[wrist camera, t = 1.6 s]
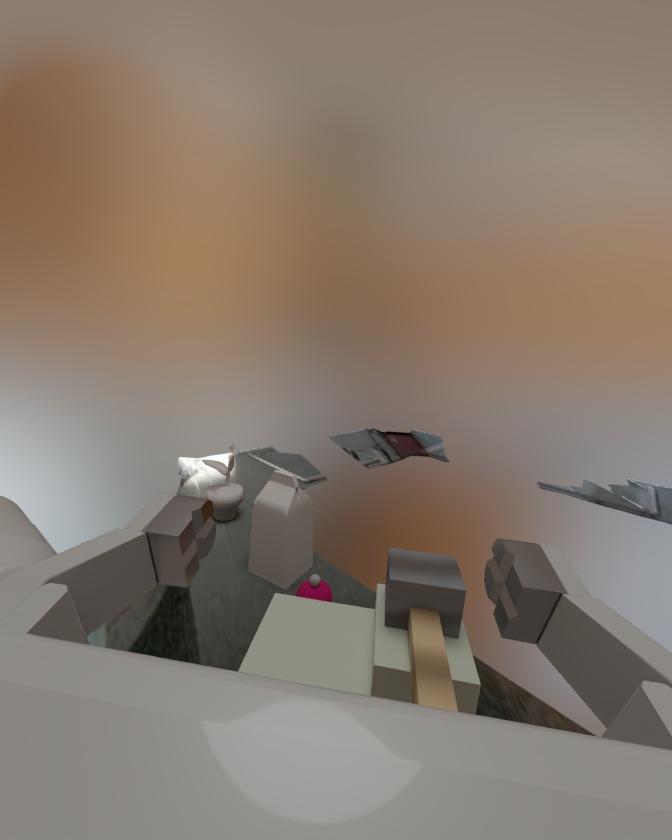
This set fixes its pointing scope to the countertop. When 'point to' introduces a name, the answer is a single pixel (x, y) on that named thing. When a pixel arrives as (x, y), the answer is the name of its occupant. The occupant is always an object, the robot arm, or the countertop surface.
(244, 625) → the countertop surface
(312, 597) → the pepper mill
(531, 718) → the countertop surface
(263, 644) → the block
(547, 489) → the countertop surface
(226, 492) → the potted plant
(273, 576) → the milk
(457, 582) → the mallet
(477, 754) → the robot arm
